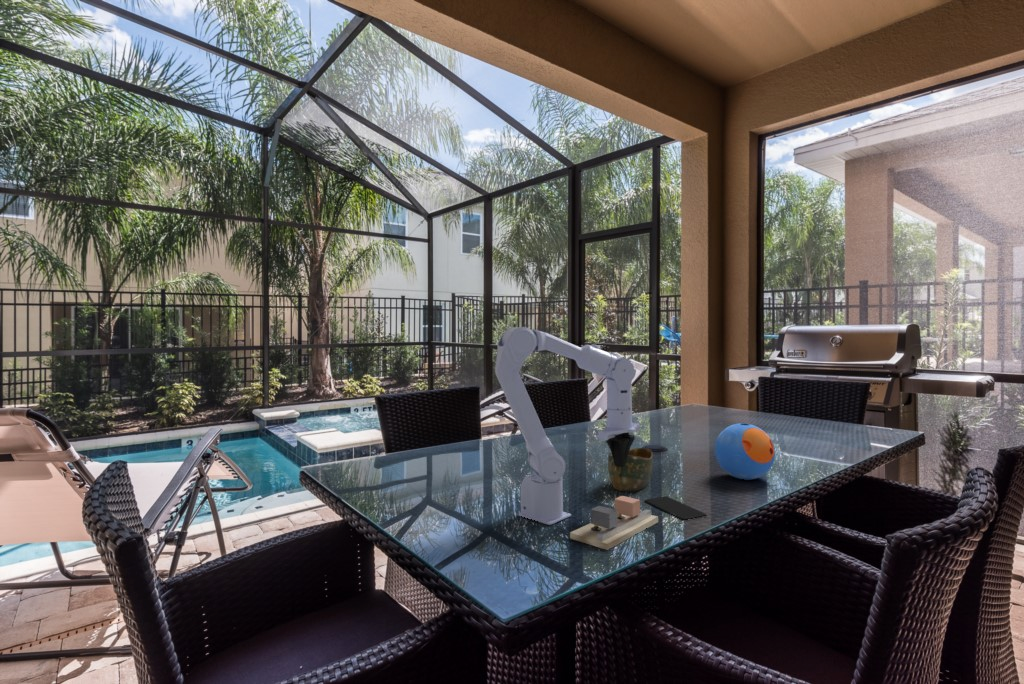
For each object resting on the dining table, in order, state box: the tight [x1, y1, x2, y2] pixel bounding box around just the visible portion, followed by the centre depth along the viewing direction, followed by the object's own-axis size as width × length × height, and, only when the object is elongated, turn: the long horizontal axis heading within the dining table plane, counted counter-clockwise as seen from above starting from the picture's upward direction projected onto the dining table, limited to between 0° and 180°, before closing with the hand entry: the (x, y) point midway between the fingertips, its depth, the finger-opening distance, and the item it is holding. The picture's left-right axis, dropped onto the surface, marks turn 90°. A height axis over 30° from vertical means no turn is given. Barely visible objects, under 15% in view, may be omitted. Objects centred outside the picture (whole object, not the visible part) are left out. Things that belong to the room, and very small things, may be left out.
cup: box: [607, 447, 654, 493], centre depth 147 cm, size 13×20×10 cm, turn 118°
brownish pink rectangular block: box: [613, 495, 641, 517], centre depth 117 cm, size 5×3×4 cm, turn 46°
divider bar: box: [597, 509, 652, 541], centre depth 113 cm, size 1×19×1 cm, turn 137°
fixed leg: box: [590, 505, 618, 529], centre depth 111 cm, size 5×3×4 cm, turn 46°
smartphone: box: [644, 495, 708, 521], centre depth 127 cm, size 7×1×15 cm
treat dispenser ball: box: [714, 422, 776, 481], centre depth 151 cm, size 16×15×15 cm
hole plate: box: [569, 514, 659, 551], centre depth 115 cm, size 9×20×1 cm, turn 136°
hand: (620, 466), depth 127 cm, fingers closed
